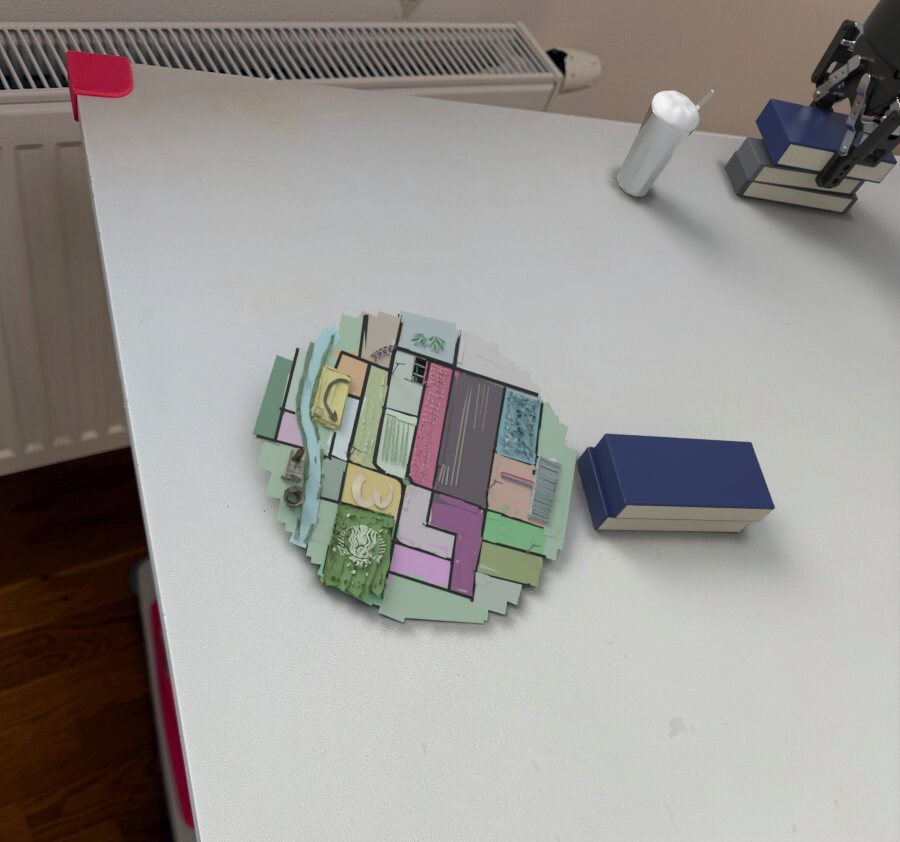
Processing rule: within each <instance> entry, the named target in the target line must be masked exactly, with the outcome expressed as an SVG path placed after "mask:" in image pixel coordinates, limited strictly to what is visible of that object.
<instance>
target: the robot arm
mask: <svg viewBox="0 0 900 842" xmlns="http://www.w3.org/2000/svg"><path fill="white" fill-rule="evenodd" d="M833 63H835V65H834V67H833V69H832V70H831V72H829V69H830V67H831V65H832V64H833ZM810 82H811V84H815V89H814V90H813V94H812V101H811V103H810V104H809V105H808V106H810V107H814V108H819V109H824V110H828V111H833V112H835V110H834V107H833V106H837V105H839V104H840V103H841V102H843V101H844V100H846V99H848V101H849V106H850V110H849V113H848V115H849V116H848V118H847V121H846V127H847V132H846V134H845V137H844V139H843V142H842V144H841V147H840V150H837V151H836V152H835V153H834V155H833V156H832V157H831V159H830V160H829V161H828V162H827V164H826V165H825V166H824V168H823V169H822V170H821V171H820V173H819V174H818V175H817V176H816V178H815V182H816V184H817V186H818V187H822V188H827V189H831V188H833V187H837V186H838V185H840V183H841V182H842V181H843V180H844V178H845V177H846V176H847V175H848V173H849V172H850V171H851V170H852V168H853V167H854V166H855V165H862V166H867V167H872V168H874V167H876V166H877V165H878V164H879V163H880V162H881V161H882V160H883V159H884V158H885V157H886V156H887V155H888V154H889V153H890V152H891V151H892V152H893V150H894V149H896V148H897V146H898V145H899V144H900V0H879V1H878V2H877V3H876V5H875V6H874V8H873V9H872V11H871V12H870V14H869V15H868V16H867V17H866V19H865V20H864V23H863V22H860V21H857V20H851V19H845V20H844V21H843V22H842V23H841V24H840V26H839V28H838V30H837V31H836V33H835V35H833V38H832V40H831V41H830V43H829V44H828V46H827V48H826V50H825V51H824V53H823V55H822V56H821V58H820V60H819V61H818V63H817V65H816V66H815V68H814V69H813V72H812V74H811V76H810ZM863 116H865V117H873V118H872V119H871V120H872V121H871V122H864V121H862V120H861V118H863ZM860 132H864V133H863V136H862V138H861V141H860V143H859V145H857V144H855V142H856V140H857V137H858V135H859V133H860ZM875 148H876V149H875ZM874 149H875V150H874ZM872 150H874V151H873V152H872Z"/></svg>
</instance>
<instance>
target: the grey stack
mask: <svg viewBox="0 0 900 842" xmlns="http://www.w3.org/2000/svg"><path fill="white" fill-rule="evenodd" d="M737 149H738V150H735V151H734V152H733V154H732V155H731V157H730V159H728V161H727V163H725V166H724V168H725V170H726V173H727V176H728V178H729V181H730V183H731V186H732V188H733V190H734V193H735V195H736V196H738V197H739V196H741V197H745V198H751V199H757V200H764V201H769V202H775V203H780V204H786V205H792V206H798V207H803V208H810V209H815V210H821V211H828V212H833V213H839V214H847V213H848V212H849V211H850V209H851V208H852V207H853V206H854V205H855V204H856V202H857V201H859V198H858V195H857V192H858V191H859V190H860V188H861V187H862V186H863V185H864V184H865V183H866V181H862V180H857V179H851V178H846V177H845V178H844V180H843V181H842V182H841V183H840V185H838V186H837V187H833V188H831V189H827V188H822V187H818V186H817V184H816V182H815V178H816V176H817V175H818V174H819V173H818V172H813V171H807V170H802V169H796V168H791V167H785V166H780V165H774V163H773V161H772V159H771V156H770V154H769V152H768V149H767V147H766V145H765V143H764V140H763V138H760V137H759V138H758V137H752V136H746V138H745V139H744V141H743V142H742V143H741V145H740V146H739V148H737Z"/></svg>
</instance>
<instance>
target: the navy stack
mask: <svg viewBox="0 0 900 842" xmlns="http://www.w3.org/2000/svg"><path fill="white" fill-rule="evenodd" d="M576 465H577V469H578V472H579V476H580V481H581V483H582V487H583V492H584V495H585V499H586V503H587V506H588V511H589V514H590V517H591V521H592V526H593V529H594V530H597V531H598V530H599V531H600V530H601V531H602V530H603V531H607V530H608V531H656V532H657V531H659V532H663V531H664V532H709V533H710V532H711V533H712V532H713V533H715V532H716V533H722V532H723V533H740V532H742V531H743V530H744V529H745V528H746V527H747V526H748V525H750V524H751V523H752V522H761V521H762V520H763V519H765V517H767V516H768V515H769V514H770V513H771V512H772V511H774V510H775V509H776V507H775V504H774V500H773V497H772V496H771V492H770V490H769V486H768V484H767V481H766V479H765V476H764V473H763V471H762V468H761V464H760V463H759V459H758V456H757V454H756V451H755V448H754V445H753V443H752V442H751V441H741V440H723V439H708V438H692V437H691V438H689V437H673V436H655V435H641V434H639V435H638V434H621V433H604V435H602V437H601V438H600V440H599V441H598V442H597V443H596V445H595V446H587V447H586V448H585V450H583V452H582V454H581V455H580V456H579V457H578V459H576Z"/></svg>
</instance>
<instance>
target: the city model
mask: <svg viewBox="0 0 900 842" xmlns="http://www.w3.org/2000/svg"><path fill="white" fill-rule="evenodd" d="M456 324H457V323H454V322H449V321H446V320H442V319H437V318H433V317H429V316H425V315H421V314H416V313H412V312H407V311H404V310H400V311H399V313H398V314H397V316H396V315H393V314H390V313H387V312H384V311H381V310H378V311H377V315H373V314H371V313H369V312H366V311H364V310H361V312H360V315H358V316H355V317H354V316H352V315H348V314H345V313H341V315H340V321H339V326H338V327H339V328H338V327H337V326H334V327H331V328H328V327H326V328H324V329H323V330H322V331H321V332H320V334H319V335H318V336H317V338H316V340H315V341H314V342H313V341H310V342H309V344H308V348H307V350H306V349H304V348H301V347H298V346H297V347H296V348H295V350H294V351H295V352H294V356H293V359H289V358H287V357H284V356H281V355H279V354H276V356H275V359H274V361H273V365H272V369H271V372H270V375H269V378H268V382H267V385H266V389H265V391H264V395H263V398H262V401H261V405H260V408H259V411H258V414H257V418H256V422H255V424H254V428H253V430H252V436H254V439H256V440H260V441H262V442H263V443H262V446H261V449H260V452H259V456H258V460H257V462H256V465H255V467H256V468H258V469H261V470H263V471H267V472H270V477H269V480H268V482H267V486H266V488H265V490H266V491H267V492H266V496H267V497H270V498H274V499H278V500H279V503H278V507H277V511H276V516H275V518H274V519H275V521H277V522H279V523H284V524H285V527H284V532H288V533H291V536H290V540H289V543H291V544H293V545H296V546H298V547H301V548H304V549H306V548H307V549H306V554H305V555H306V557H309V558H310V557H311V558H310V559H311V560H310V564H316V565H320V566H319V569H318V571H317V575H318V576H319V577H320V578H319V581H320V585H322V584H323V583H325V585H326V586H331V587H333V588H335V589H337V590H338V591H341V592H343V593H345V594H347V595H349V596H350V597H352V598H355V599H356V600H359V601H360V602H363V603H364V604H367V605H369V606H370V607H372V606H373V605H375V606H379V607H378V611H377V613H379V614H380V615H383V616H385V617H389V618H391V619H393V620H396V621H398V622H401V623H403V624H404V622H405V619H414V620H415V619H416V620H417V619H418V620H427V621H428V620H430V621H443V622H456V623H457V622H458V623H468V624H469V623H470V624H485V622H488V619H489V611H491V612H495V613H498V614H501V615H506V612H507V605H508V603H511V604H513V605H514V606H517V605H518V602H519V598H520V595H521V592H522V587H523V586H526V587H531V586H533V587H539V580H540V575H541V571H542V570H543V565H544V563H543V562H544V559H549V560H552V561H554V562H556V561H557V558H558V557H557V556H558V551H559V550H560V551H563V550H564V545H565V539H566V538H565V537H566V532H567V531H566V530H567V523H568V517H569V510H570V504H571V502H570V501H571V496H572V489H573V482H574V476H575V469H576V463H577V455H578V450H576V449H573V448H570V447H568V446H565V441H566V438H567V437H566V436H567V433H568V428H569V426H568V425H566V424H564V423H562V422H560V416H559V415H558V414H555V411H554V410H553V407H552V406H551V403H550V401H546V402H545V401H544V400H543V399H542V396H541V390H542V388H541V387H539V386H537V385H536V384H535V383H534V382H533V381H532V380H531V372H529V371H524V370H520V369H519V368H518V367H517V366H515V361H513V360H510V359H508V358H507V357H506V356H504V355H503V354H502V353H501V352H500V344H496V343H493V342H488V341H485V340H483V335H482V334H479V333H476V332H471V331H467V330H466V329H463V328H459V327H458V328H457V329H456V327H457V325H456ZM242 454H245V453H242ZM271 556H272V557H274V556H273V555H271Z"/></svg>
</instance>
